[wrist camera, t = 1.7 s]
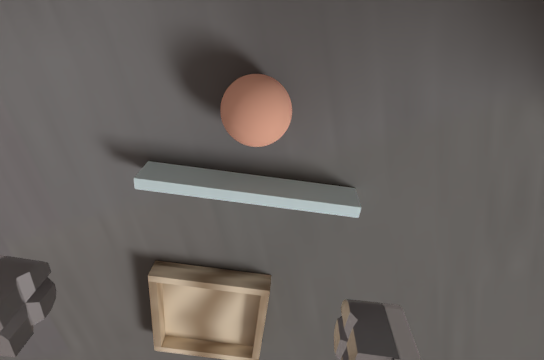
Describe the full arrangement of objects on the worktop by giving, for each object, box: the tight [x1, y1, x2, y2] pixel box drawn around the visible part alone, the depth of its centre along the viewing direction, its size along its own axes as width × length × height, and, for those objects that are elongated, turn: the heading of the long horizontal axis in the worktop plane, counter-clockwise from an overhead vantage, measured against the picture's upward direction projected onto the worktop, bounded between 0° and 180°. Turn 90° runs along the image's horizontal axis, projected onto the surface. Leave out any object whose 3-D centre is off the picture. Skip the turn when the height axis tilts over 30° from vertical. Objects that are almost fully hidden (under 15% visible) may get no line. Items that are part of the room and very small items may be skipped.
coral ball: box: [221, 74, 292, 147], centre depth 24 cm, size 5×5×5 cm
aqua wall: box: [134, 161, 361, 218], centre depth 28 cm, size 18×1×3 cm, turn 83°
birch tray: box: [148, 260, 271, 360], centre depth 37 cm, size 12×12×2 cm
